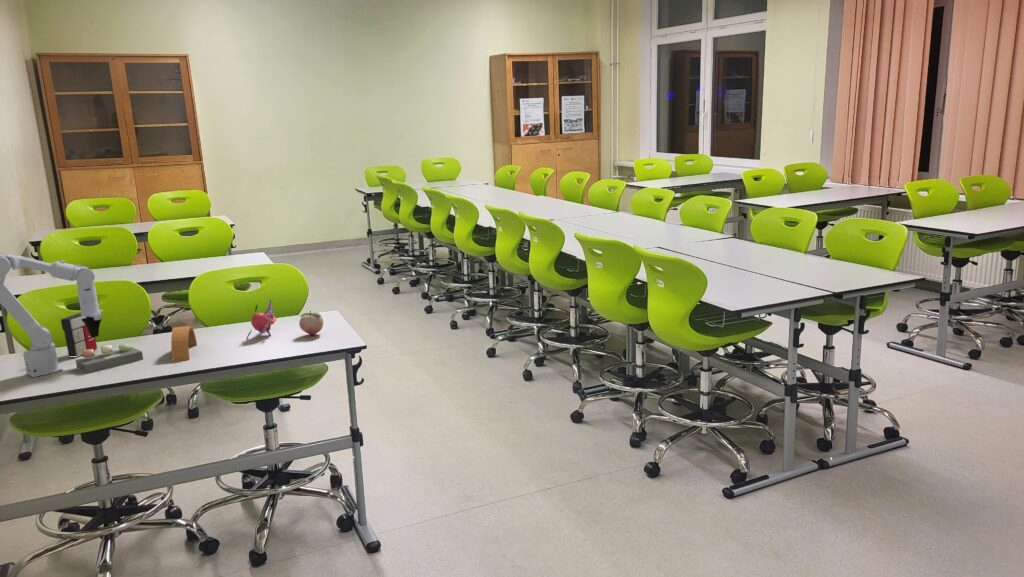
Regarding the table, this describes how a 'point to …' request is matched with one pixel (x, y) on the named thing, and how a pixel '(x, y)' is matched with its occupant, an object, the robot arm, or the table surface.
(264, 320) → the heart model
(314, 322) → the decorative fruit
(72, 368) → the table surface
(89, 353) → the terracotta button
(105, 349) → the cream button
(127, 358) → the button panel
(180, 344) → the arch
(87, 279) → the robot arm
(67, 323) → the grey and red box
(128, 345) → the sage button
